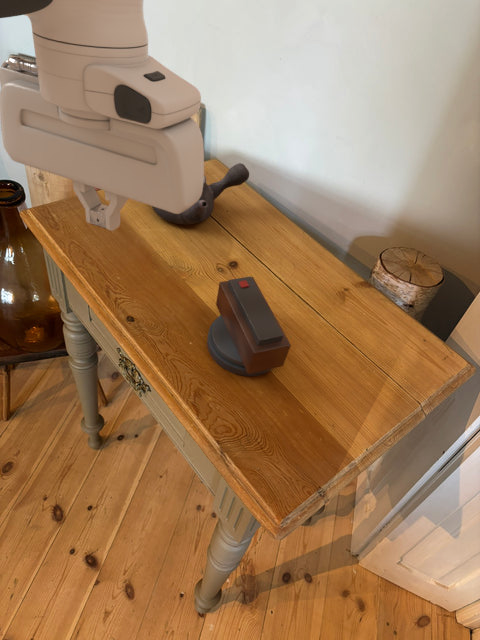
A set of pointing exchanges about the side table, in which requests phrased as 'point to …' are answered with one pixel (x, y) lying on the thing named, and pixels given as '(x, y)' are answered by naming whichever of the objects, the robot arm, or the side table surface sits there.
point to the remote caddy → (248, 327)
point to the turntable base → (225, 363)
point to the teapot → (206, 197)
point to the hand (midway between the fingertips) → (103, 225)
